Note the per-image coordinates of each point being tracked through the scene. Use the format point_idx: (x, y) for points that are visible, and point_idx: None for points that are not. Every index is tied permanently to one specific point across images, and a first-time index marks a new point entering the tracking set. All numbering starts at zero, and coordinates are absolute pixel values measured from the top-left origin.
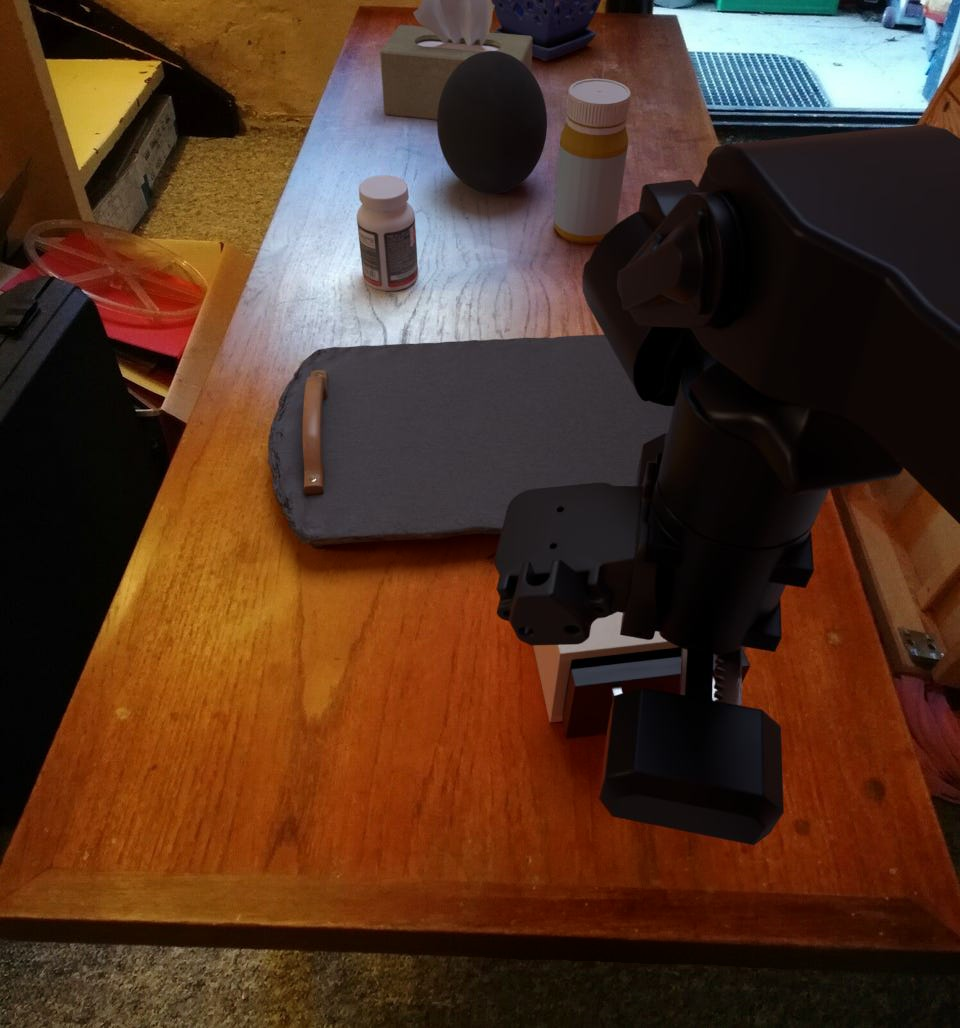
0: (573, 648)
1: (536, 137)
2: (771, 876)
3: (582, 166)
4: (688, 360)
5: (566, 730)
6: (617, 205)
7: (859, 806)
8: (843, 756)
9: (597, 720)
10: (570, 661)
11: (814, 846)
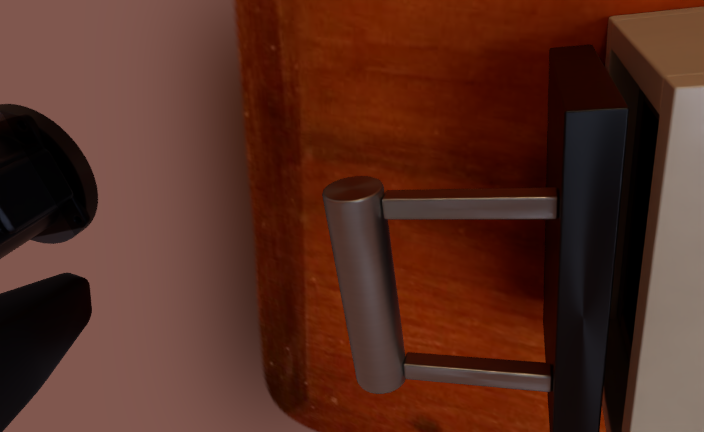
0: (685, 133)
1: None
2: (323, 289)
3: None
4: None
5: (553, 54)
6: None
7: (406, 404)
8: (473, 417)
9: (551, 126)
10: (657, 110)
11: None
